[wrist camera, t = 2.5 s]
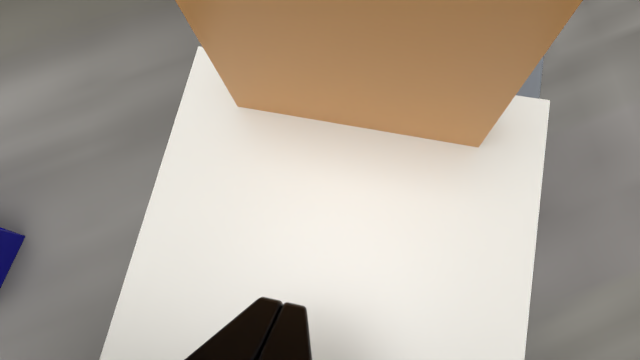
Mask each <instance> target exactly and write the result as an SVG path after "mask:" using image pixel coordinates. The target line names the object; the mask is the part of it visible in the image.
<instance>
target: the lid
mask: <svg viewBox="0 0 640 360" xmlns="http://www.w3.org/2000/svg"><path fill="white" fill-rule="evenodd" d="M175 1H176V2H177V4H178V6H179V7H180V9H181V11H182V13H183V14H184V16H185V18H186V19H187V21H188V23H189V24H190V26H191V28H192V30H193V31H194V33H195V35H196V36H197V38H198V40H199V42H200V43H201V45H202V47H199V46H198V49H197V52H196V56H195V59H194V62H193V65H192V68H191V71H190V75H189V78H188V81H187V84H186V87H185V90H184V94H183V97H182V100H181V103H180V106H179V109H178V113H177V116H176V119H175V122H174V125H173V128H172V132H171V135H170V138H169V141H168V144H167V147H166V151H165V154H164V157H163V160H162V163H161V166H160V170H159V173H158V176H157V179H156V182H155V185H154V189H153V192H152V195H151V198H150V201H149V204H148V208H147V211H146V214H145V217H144V220H143V223H142V227H141V230H140V233H139V236H138V239H137V242H136V246H135V249H134V252H133V255H132V258H131V261H130V265H129V268H128V271H127V274H126V277H125V280H124V284H123V287H122V290H121V293H120V296H119V299H118V303H117V306H116V309H115V312H114V315H113V318H112V322H111V325H110V328H109V331H108V334H107V337H106V341H105V344H104V347H103V350H102V353H101V356H100V360H184V359H186V358H187V357H188V356H189V355H191V354H192V353H193V352H194V351H195V350H197V349H198V348H199V347H200V346H201V345H203V344H204V343H205V342H206V341H207V340H209V339H210V338H211V337H212V336H213V335H215V334H216V333H217V332H218V331H219V330H221V329H222V328H223V327H224V326H226V325H227V324H228V323H229V322H230V321H232V320H233V319H234V318H235V317H236V316H238V315H239V314H240V313H241V312H242V311H244V310H245V309H246V308H247V307H248V306H250V305H251V304H252V303H253V302H254V301H256V300H257V299H258V298H260V297H267V298H272V299H276V300H280V301H281V302H282V303H283V304H284V303H285V302H289V303H294V304H298V305H303V306H305V307H306V309H307V315H308V325H309V334H310V343H311V352H312V360H524V357H525V347H526V337H527V327H528V317H529V307H530V297H531V287H532V277H533V267H534V257H535V247H536V237H537V226H538V216H539V206H540V196H541V186H542V176H543V166H544V156H545V146H546V136H547V126H548V116H549V106H550V100H544V99H537V98H531V97H524V96H518V95H516V94H517V92H518V91H519V90H520V88H521V87H522V85H523V84H524V83H525V81H526V80H527V78H528V77H529V75H530V74H531V73H532V71H533V70H534V68H535V67H536V66H537V64H538V63H539V61H540V60H541V58H542V57H543V56H544V54H545V53H546V51H547V50H548V49H549V47H550V46H551V44H552V43H553V42H554V40H555V39H556V37H557V36H558V34H559V33H560V32H561V30H562V29H563V27H564V26H565V25H566V23H567V22H568V20H569V19H570V18H571V16H572V15H573V13H574V12H575V10H576V9H577V8H578V6H579V5H580V3H581V2H582V1H583V0H175Z"/></svg>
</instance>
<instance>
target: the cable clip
mask: <svg viewBox="0 0 640 360" xmlns="http://www.w3.org/2000/svg"><path fill="white" fill-rule="evenodd" d="M24 238H25V236H23V235H20V234H18V233H15V232H12V231H9V230H6V229H3V228H0V288H1V286H2V284H3V282H4V279H5V277H6V275H7V273H8V271H9V269H10V267H11V265H12V263H13V261H14V259H15V257H16V255H17V252H18V250H19V248H20V246H21V244H22V242H23V240H24Z"/></svg>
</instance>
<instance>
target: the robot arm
mask: <svg viewBox="0 0 640 360" xmlns="http://www.w3.org/2000/svg"><path fill="white" fill-rule="evenodd" d="M184 360H312V352H311V343H310V334H309V325H308V315H307V309H306V307H305V306H303V305H298V304H294V303H289V302H285V303H284V304H283V303H282V302H281V301H280V300H276V299H272V298H267V297H260V298H258V299H257V300H256V301H254V302H253V303H252V304H251V305H250V306H248V307H247V308H246V309H245V310H244V311H242V312H241V313H240V314H239V315H238V316H236V317H235V318H234V319H233V320H232V321H230V322H229V323H228V324H227V325H226V326H224V327H223V328H222V329H221V330H219V331H218V332H217V333H216V334H215V335H213V336H212V337H211V338H210V339H209V340H207V341H206V342H205V343H204V344H203V345H201V346H200V347H199V348H198V349H197V350H195V351H194V352H193V353H192V354H191V355H189V356H188V357H187V358H186V359H184Z"/></svg>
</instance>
